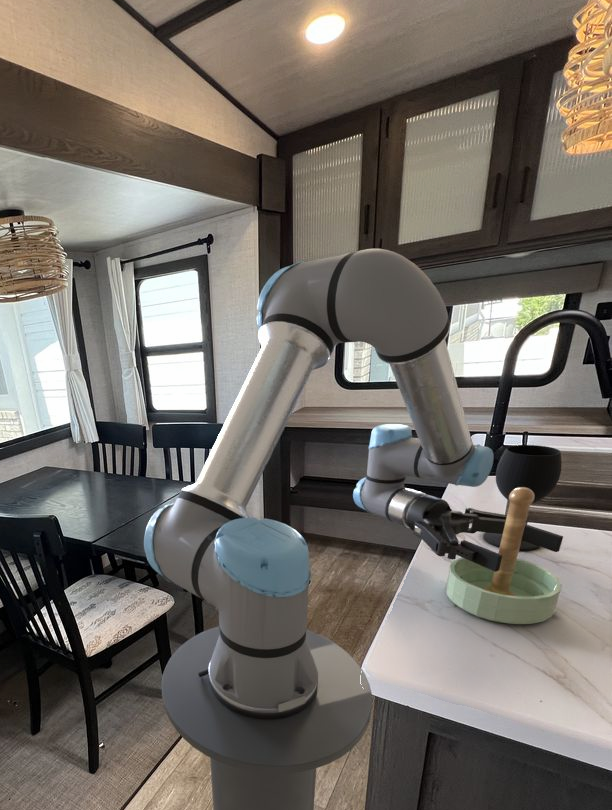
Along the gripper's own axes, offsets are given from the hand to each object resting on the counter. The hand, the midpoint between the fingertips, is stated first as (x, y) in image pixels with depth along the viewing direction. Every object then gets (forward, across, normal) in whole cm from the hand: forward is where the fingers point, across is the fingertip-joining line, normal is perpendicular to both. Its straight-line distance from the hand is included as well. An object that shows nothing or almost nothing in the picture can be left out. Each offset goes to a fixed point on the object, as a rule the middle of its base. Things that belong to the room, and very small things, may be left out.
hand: (530, 553), depth 74 cm
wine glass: (-18, -24, -11) cm, 32 cm away
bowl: (-3, 0, -11) cm, 11 cm away
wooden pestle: (-3, 0, -10) cm, 11 cm away
